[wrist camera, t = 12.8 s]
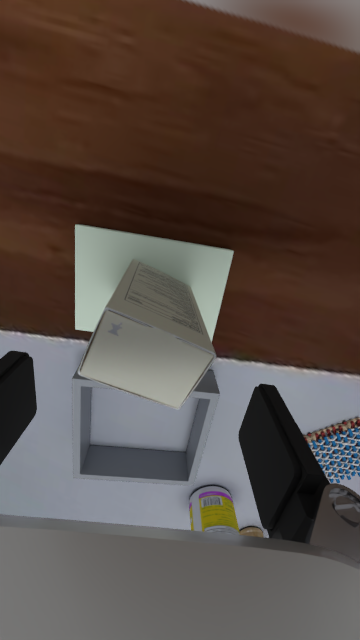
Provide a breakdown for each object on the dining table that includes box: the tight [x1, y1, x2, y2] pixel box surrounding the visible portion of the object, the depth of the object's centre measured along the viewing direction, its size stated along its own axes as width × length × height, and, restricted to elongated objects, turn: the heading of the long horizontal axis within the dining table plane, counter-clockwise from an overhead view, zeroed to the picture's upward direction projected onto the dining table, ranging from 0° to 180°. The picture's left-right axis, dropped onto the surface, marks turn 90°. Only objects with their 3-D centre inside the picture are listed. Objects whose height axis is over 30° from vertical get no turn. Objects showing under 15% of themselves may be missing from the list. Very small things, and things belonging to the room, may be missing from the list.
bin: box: [72, 367, 220, 486], centre depth 29 cm, size 15×15×4 cm
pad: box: [75, 224, 234, 342], centre depth 24 cm, size 14×10×1 cm
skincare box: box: [78, 259, 216, 410], centre depth 18 cm, size 6×4×12 cm
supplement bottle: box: [189, 486, 240, 535], centre depth 33 cm, size 7×7×13 cm
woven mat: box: [304, 417, 360, 483], centre depth 35 cm, size 10×11×2 cm
